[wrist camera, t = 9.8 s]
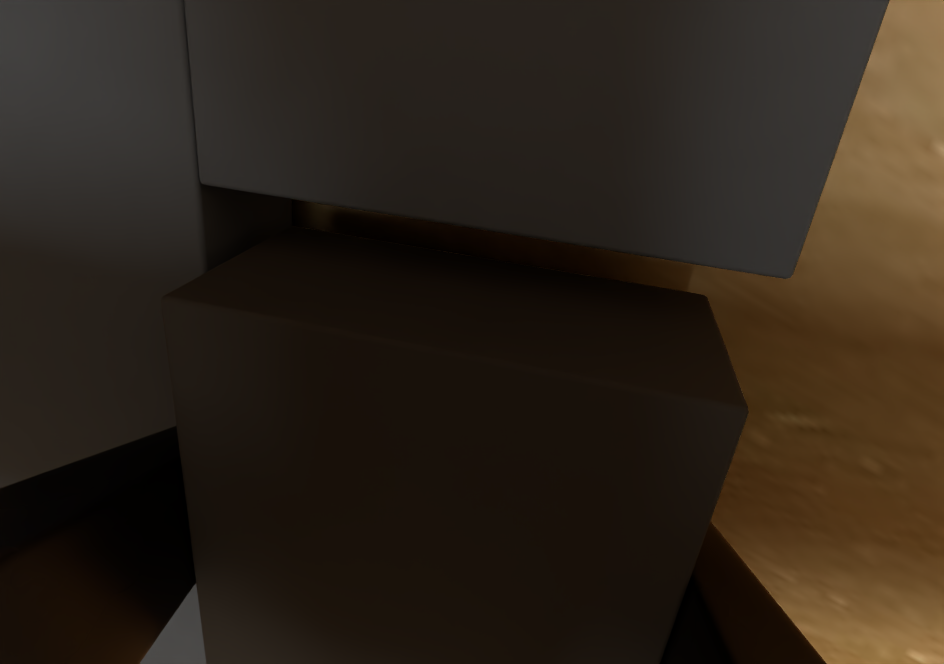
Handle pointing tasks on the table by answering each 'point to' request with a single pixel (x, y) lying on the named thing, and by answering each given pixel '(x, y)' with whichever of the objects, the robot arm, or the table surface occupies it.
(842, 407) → the table surface
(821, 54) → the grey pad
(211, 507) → the black pad
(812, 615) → the table surface
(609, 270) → the table surface
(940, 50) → the table surface
